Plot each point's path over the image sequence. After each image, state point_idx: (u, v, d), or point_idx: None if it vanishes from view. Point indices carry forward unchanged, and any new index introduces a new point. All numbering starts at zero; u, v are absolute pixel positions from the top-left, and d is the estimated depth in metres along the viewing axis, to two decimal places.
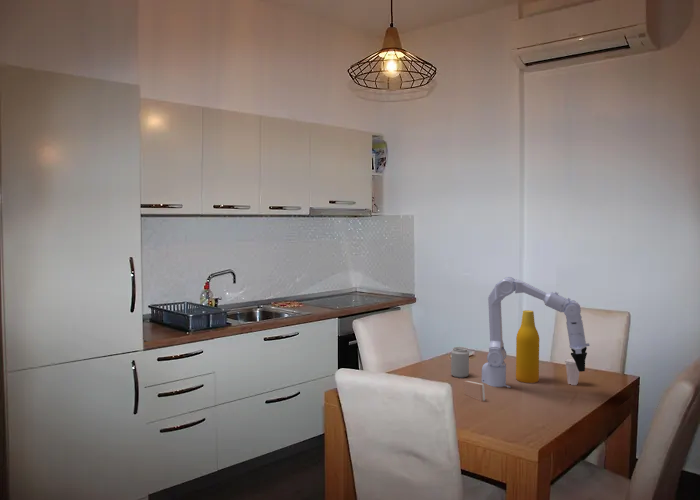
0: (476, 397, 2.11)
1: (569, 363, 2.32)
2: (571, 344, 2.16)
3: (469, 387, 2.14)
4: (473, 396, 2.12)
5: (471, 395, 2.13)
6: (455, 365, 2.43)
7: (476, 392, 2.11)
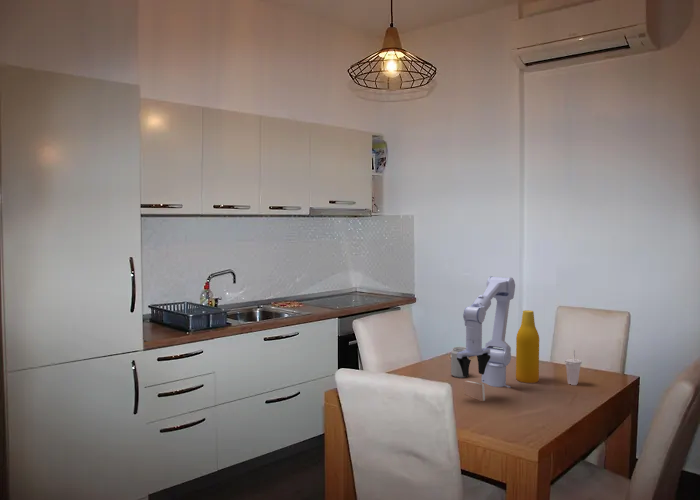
0: (476, 397, 2.11)
1: (569, 363, 2.32)
2: None
3: (469, 387, 2.14)
4: (473, 396, 2.12)
5: (471, 395, 2.13)
6: (455, 365, 2.43)
7: (476, 392, 2.11)
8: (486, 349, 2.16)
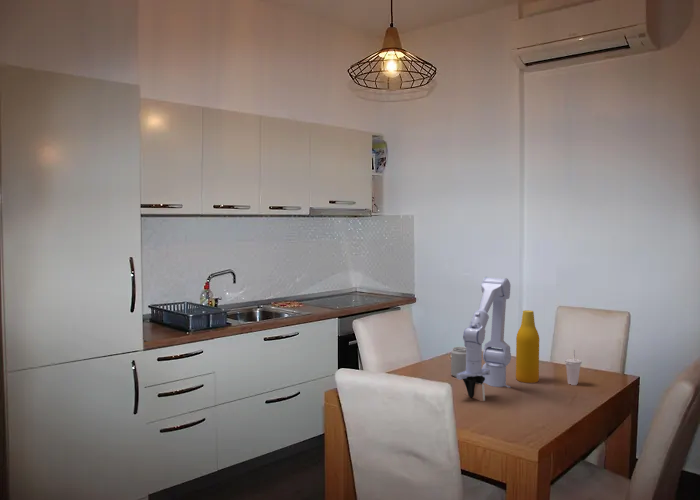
0: (476, 397, 2.11)
1: (569, 363, 2.32)
2: None
3: None
4: (473, 396, 2.12)
5: None
6: (455, 365, 2.43)
7: (476, 392, 2.11)
8: (486, 370, 2.16)
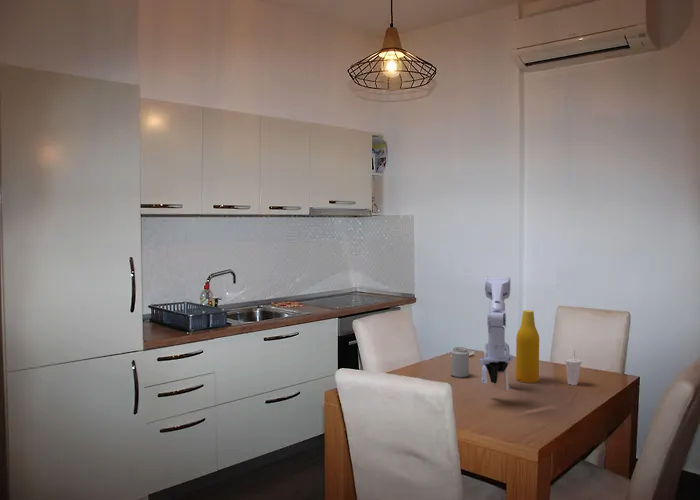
0: (499, 386, 2.07)
1: (569, 363, 2.32)
2: (488, 354, 2.10)
3: None
4: (496, 385, 2.08)
5: (494, 384, 2.09)
6: (455, 365, 2.43)
7: (499, 381, 2.07)
8: (508, 355, 2.12)
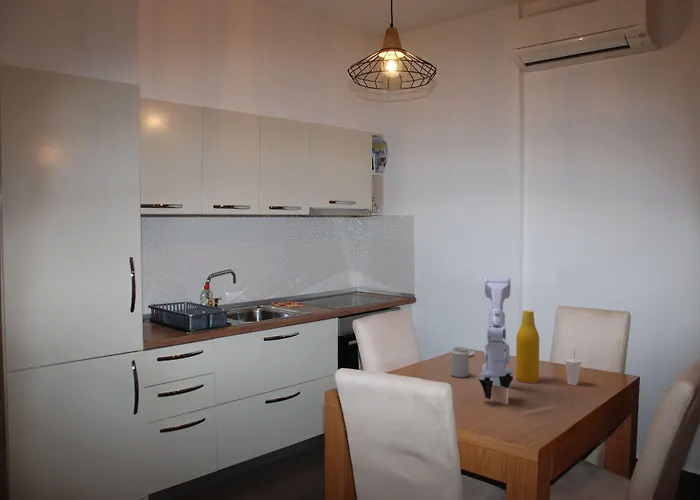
0: (499, 401, 2.07)
1: (569, 363, 2.32)
2: (488, 369, 2.10)
3: (492, 390, 2.10)
4: (496, 399, 2.08)
5: (494, 398, 2.09)
6: (455, 365, 2.43)
7: (499, 396, 2.07)
8: (508, 370, 2.12)
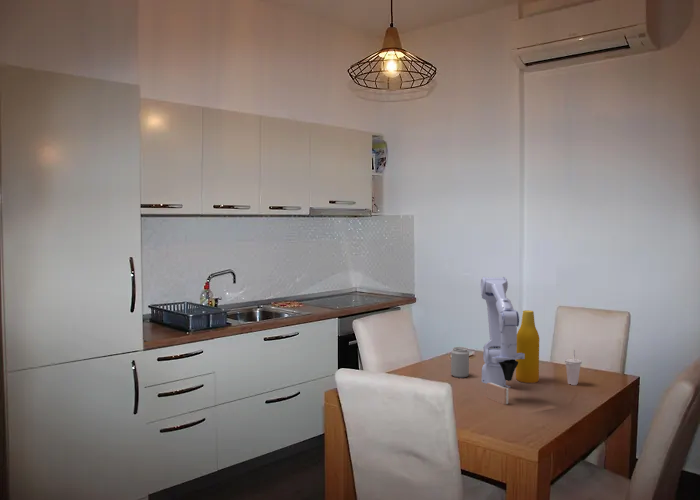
0: (499, 401, 2.07)
1: (569, 363, 2.32)
2: (500, 353, 2.13)
3: (492, 390, 2.10)
4: (496, 399, 2.08)
5: (494, 398, 2.09)
6: (455, 365, 2.43)
7: (499, 396, 2.07)
8: (520, 354, 2.15)
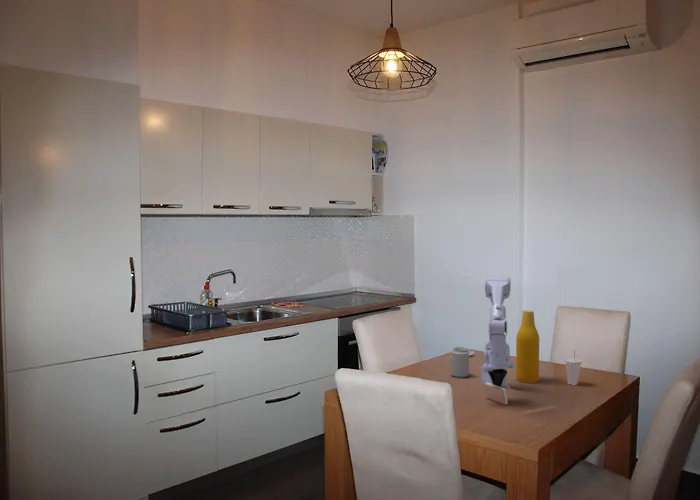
0: (498, 401, 2.07)
1: (569, 363, 2.32)
2: None
3: (490, 390, 2.09)
4: (495, 399, 2.08)
5: (493, 398, 2.09)
6: (455, 365, 2.43)
7: (498, 396, 2.06)
8: (509, 363, 2.12)
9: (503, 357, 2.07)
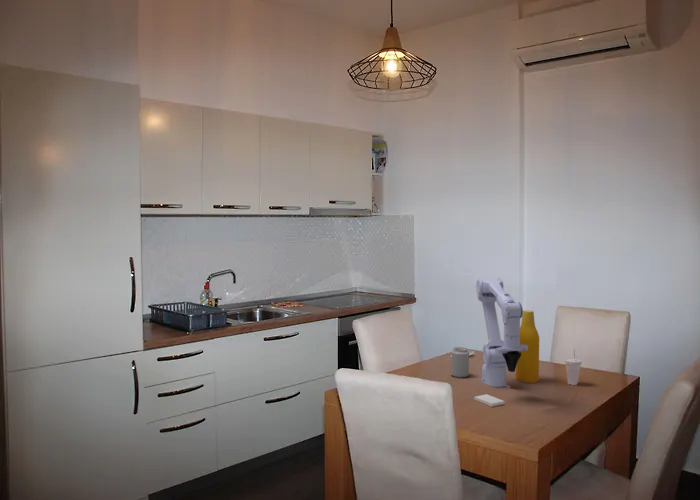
0: None
1: (569, 363, 2.32)
2: None
3: None
4: None
5: None
6: (455, 365, 2.43)
7: None
8: (523, 345, 2.17)
9: (517, 339, 2.11)
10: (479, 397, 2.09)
